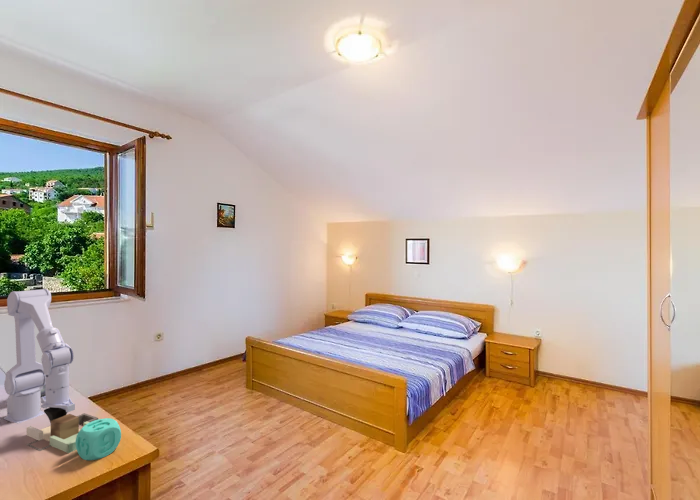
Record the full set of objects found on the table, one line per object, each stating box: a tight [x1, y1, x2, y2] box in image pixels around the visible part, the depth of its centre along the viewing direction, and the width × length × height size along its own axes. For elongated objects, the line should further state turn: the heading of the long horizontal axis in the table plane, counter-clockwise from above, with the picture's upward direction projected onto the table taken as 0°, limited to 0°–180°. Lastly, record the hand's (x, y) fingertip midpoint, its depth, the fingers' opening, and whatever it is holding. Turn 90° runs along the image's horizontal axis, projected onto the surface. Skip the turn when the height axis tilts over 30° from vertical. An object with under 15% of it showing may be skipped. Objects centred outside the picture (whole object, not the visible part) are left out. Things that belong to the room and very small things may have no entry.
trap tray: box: [25, 413, 99, 454], centre depth 107 cm, size 22×16×3 cm
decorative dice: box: [76, 417, 122, 461], centre depth 100 cm, size 8×8×8 cm
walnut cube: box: [50, 413, 80, 439], centre depth 107 cm, size 5×5×5 cm
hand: (57, 429), depth 109 cm, fingers closed
